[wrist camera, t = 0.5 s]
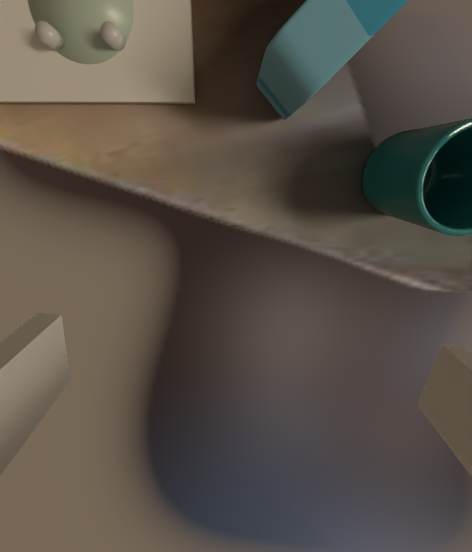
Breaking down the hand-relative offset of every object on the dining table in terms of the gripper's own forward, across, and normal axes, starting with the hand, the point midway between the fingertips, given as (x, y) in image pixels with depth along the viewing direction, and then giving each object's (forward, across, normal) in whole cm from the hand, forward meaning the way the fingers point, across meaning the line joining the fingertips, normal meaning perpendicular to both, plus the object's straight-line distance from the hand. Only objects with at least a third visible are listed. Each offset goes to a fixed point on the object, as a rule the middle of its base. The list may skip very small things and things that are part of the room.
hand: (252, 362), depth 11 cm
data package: (+27, +6, +17) cm, 33 cm away
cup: (+27, +19, +8) cm, 34 cm away
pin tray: (+27, -16, +19) cm, 37 cm away
